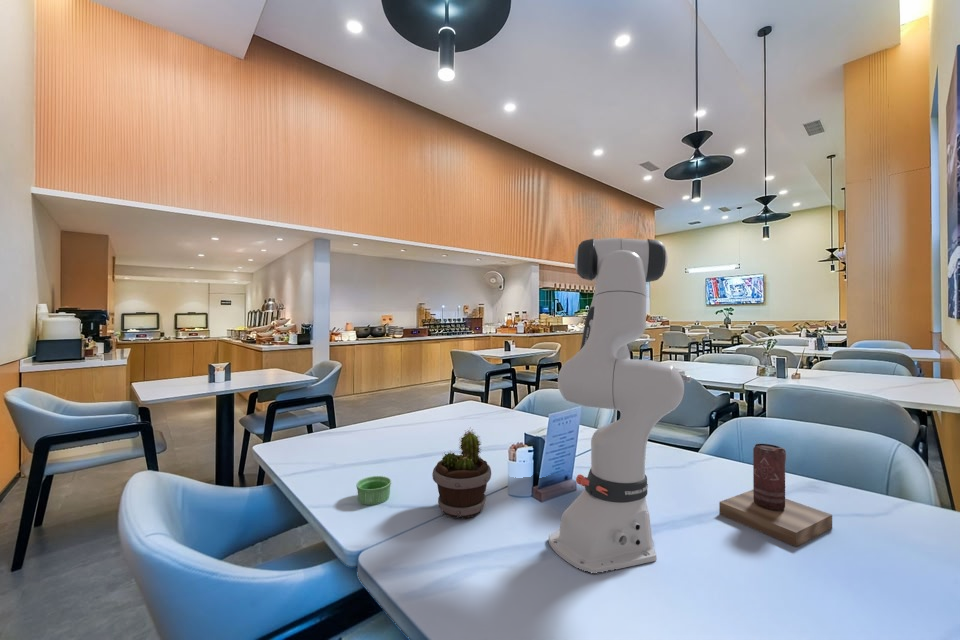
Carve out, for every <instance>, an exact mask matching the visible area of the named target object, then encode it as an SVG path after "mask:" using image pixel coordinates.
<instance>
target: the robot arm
mask: <svg viewBox="0 0 960 640" xmlns="http://www.w3.org/2000/svg"><path fill="white" fill-rule="evenodd" d="M667 253H668V252H667V250H666V246H665V244H663V242H662V241H661V240H657V239H652V238H648V239H641V238H640V239H639V238H622V237H607V238H598V239H595V238H590V239H585V240H582V241H581V242H580V243H579V244H578V246H577V248H576V251H575V254H574V257H573V258H574V261H573V262H574V263H573V264H574V267H575V270H576V273H577V275H578V276H579V277H580V278H581V279H583V280H586V281H587V280H588V281H593V280H595V281H594V282H595V283H594V284H595V286H594V291H593V296H592V301H591V304H590V306H589V310H588V312H587V315H586V317H585V322H584V326H583V327H584V328H583V333H582V338H581V344H580V345H581V346H580V349H579V350H578V352H577V353H576V354H575V355H573V356H572V357H571V358H569V359H568V360H567V361H565V363H563V365H562V366H561V368H560V370H559V372H558V376H557V386H558V390H559V392H560V394H561V396H562V397H563V399H564V400H565V402H568V403H572V404H575V405H579V406H583V407H587V408H595V409H608V410H616V411H619V412H620V417H619V419H618V420H616V421H614V422H611V423H608V424H606V425H603V426H600V427H599V428H598V429H596V430H595V431H594V432H593V434H592V437H591V440H590V454H591V455H590V458H591V460H590V461H591V462H590V465H591V466H590V469H589V470H588V474H587V477H586V476H584V475H583V474H578V475H576V477H575V482H576V483H577V484H578V485H580V486H582V487H584V490H583V491H582V492H581V493H580V494H579V495H578V496H577V497H576V499H574V500H573V501H572V503H571V504H570V505H569V506H568V507H567V508H566V509H565V510H564V511H563V512H562V515H561V519H560V524H559V525H560V526H559V529H558V530H555V531H554V532H551V533H550V534H549V535H548V544H549V546H550V548H551V549H552V550H553V551H554V552H555V553H556V554H557V555H558V556H559V557H560V558H561V559H563V560H564V561H566V562H567V563H568V564H569V565H571V566H574V568H577V569H578V568H579V570H581V569H582V570H581V571H583V570H584V571H583V572H585V571H588V572H592V573H596V572H602V571H606V572H609V571H608V570H611V571H615V570H614V569H616V570H619V569H624V568H629V567H634V566H638V565H642V564H648V563H652V562H656V560H657V559H658V558H657V552H656V550H655V549H654V547H655V542H654V539H653V536H652V526H651V525H652V524H651V517H650V512H649V508H648V505H647V498H646V497H647V495H648V488H649V483H648V476H647V475H646V452H647V446H648V445H647V444H648V441H649V436H650V434H651V433H652V430H653V428H654V427H655V426H656V424H657V423H658V422H659V421H660V420H661V419H662V418H663V417H665V416H667V415H668V414H670V413H672V412H673V411H675V410H676V409H677V408H678V406H679V405H680V404H681V402H682V400H683V399H684V398H683V397H684V394H685V383H691V382H692V378H691V377H692V376H690V375H686V371H685V370H683V369H681V368H677V367H675V366H674V365H672V364H668V363H665V362H661V361H656V360H652V359H651V360H650V359H637V358H636V359H633V358H631V351H630V346H629V344H631V343H633V342H635V341H637V340H638V339H640V338H641V337H642V336H643V335H644V333H645V331H646V329H647V283H650V282H656V281H658V280H660V278H662V277H663V275H664V273H665V271H666V268H667V266H668V260H669V258H668V254H667ZM588 572H587V573H588ZM592 573H591V574H592ZM602 573H603V572H602Z"/></svg>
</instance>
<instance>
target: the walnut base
mask: <svg viewBox="0 0 960 640" xmlns="http://www.w3.org/2000/svg"><path fill="white" fill-rule="evenodd" d="M718 502H719V503H718V504H719V509H718V510H719V515H720V516H723V517H725V518H727V519H730V520H732V521H735V522H736V523H739V524H742V525H744V526H747V527H748V528H751V529H753V530H755V531H758V532H760V533H763V534H765V535H767V536H769V537H771V538H774V539H777V540H779V541H781V542H784V543H785V544H788V545H791V546H793V547H795V548H798V547H799V546H801V545H803V544H805V543H807V542H809V541H810V540H812V539H815V538H816V537H818V536H820V535H822V534H824V533H825V532H828V531H830V530H831V529H833V514H831V513H829V512H826V511H822V510H820V509H816V508H814V507H811V506H808V505H805V504H802V503H800V502H797V501H794V500H791V499H787V498H785V508H784V509H783V510H781V511H772V510H768V509H764V508H762V507H759V506H758V505H756V503H755V502H754V498H753V489H751V490H748V491H745V492H743V493H741V494H737V495H734V496H731V497H729V498H726V499H724V500H721V501H718Z"/></svg>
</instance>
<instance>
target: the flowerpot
mask: <svg viewBox="0 0 960 640" xmlns="http://www.w3.org/2000/svg"><path fill="white" fill-rule="evenodd" d="M474 430H475V429H471V426H470V427H469V429H467V430H464V432H465V433H463V434H462V435H461V436H460V438H459V440H458V441H459V443H458V444H459V446H458V450H460V451H461V452H459V454H455V452H450V451H447V453H446V452H444V453H443V456H442V458H441V460H439V461H438V462H437V463H436V465H435V466H434V468H433V471H432V474H431V475H432V480H433V482H434V483H436V485H437V490H438V491H437V492H438V498H437V503H438V507H439V509H440V510H441V511H442V513H443V514H444V515H445V516H447V517H450V518H453V519H458V518H460V517H461V518H462V519H464V520H465V519H469V518H473V517H476V516H478V515H479V514H481V513H482V510H484V508H485V505H486V502H487V496H486V494H485V493H486V490H487V486H488V485H487V484H488V483H489V482H490V480H491V477H492V468H491V466H490V465H489V464H488V462H487V461H486V460H484V459H483V458H482V457H481V454H480V453H481V452H482V451H483V450H482V446H481V444H482V441H480V440H479V439H480V436H479V435H478V433H477V432H476V431H474Z"/></svg>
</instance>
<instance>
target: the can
mask: <svg viewBox="0 0 960 640" xmlns="http://www.w3.org/2000/svg"><path fill="white" fill-rule="evenodd" d="M752 451H753V453H752V455H753V456H752V457H753V460H752V461H753V465H752V466H753V472H752V474H753V477H752V478H753V480H752V481H753V487H752V490H753V498H754V502H755V503H756V505H758V506H759V507H762V508H764V509H768V510H772V511H781V510H783V509H784V508H785V499H786V459H787V455H786V454H787V452H786V449H785V448H783V447H781V446H778V445H774V444H768V443H756V444H755V445H754V447H753V449H752Z"/></svg>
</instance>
